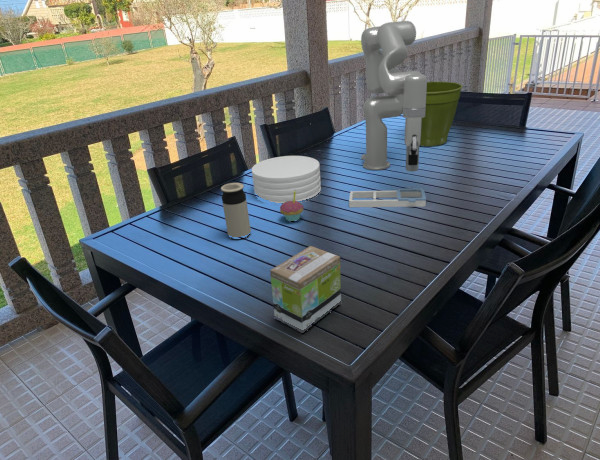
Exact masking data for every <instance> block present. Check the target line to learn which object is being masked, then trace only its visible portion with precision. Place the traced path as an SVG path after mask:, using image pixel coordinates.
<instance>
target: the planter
mask: <svg viewBox="0 0 600 460" xmlns="http://www.w3.org/2000/svg"><path fill="white" fill-rule="evenodd" d="M411 146H412V144H411ZM405 149H406V150H405V171H407V172H410V173H411V172H412V173H413V172H417V171H419V165H420V164H419V161H420V146H418V153H417V154H418V163H417V165H408V155H409V146H408V147H406V146H405ZM411 149H412V148H411Z"/></svg>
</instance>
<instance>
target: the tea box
mask: <svg viewBox="0 0 600 460" xmlns="http://www.w3.org/2000/svg"><path fill="white" fill-rule="evenodd" d="M269 271H270V273H269V274H270V284H271V294H272V305H273V314H274V315H273V317H274V316H276V317H278V318H280V319H282V320H283V321H285V322H287V323H289V324H291V325H293V326H295V327H297V328H299V329H301V330H304V329H306V328H307V327H308V326H309V325H311V324H312V323H313V322H315V321H316V320H317V319H318V318H319V317H321V316H322V315H323V314H325V313H326V312H327V311H329V310H330V309H331V308H332V307H333V306H335V305H336V304H337V303H339V302H340V301H341V302H342V293H341V291H342V284H341V279H342V278H341V275H342V274H341V256H339V255H337V254H333V253H331V252H328V251H326V250H323V249H320V248H318V247H314V246H312V245H310V246H308V247H307V248H305V249H303V250H302V251H300V252H298V253H296V254H294V255H293V256H291V257H290V258H288V259H287V260H284V261H283V262H281V263H280V264H278V265H276V266H275V267H273V268H271V269H270V270H269Z"/></svg>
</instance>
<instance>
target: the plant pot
mask: <svg viewBox="0 0 600 460" xmlns="http://www.w3.org/2000/svg"><path fill="white" fill-rule="evenodd" d="M462 89H463V85H462V84H461V83H459V82H451V81H427V89H426V109H425V117H423V118H422V121H421V139H420V145H419V147H436V146H437V145H438V146H442V145H443V144H446V143H447V142H448V136H449V133H450V130H451V128H452V125H453V122H454V118H455V116H456V112H457V108H458V104H459V100H460V96H461V91H462ZM438 146H437V147H438Z"/></svg>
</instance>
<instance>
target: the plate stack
mask: <svg viewBox="0 0 600 460" xmlns="http://www.w3.org/2000/svg"><path fill="white" fill-rule="evenodd" d="M320 166H321V165H320V162H319V161H318V160H317V159H315V158H313V157H309V156H305V155H304V156H303V155H284V156H277V157H271V158H267V159H264V160H261V161H260V162H257V163H255V164H254V165H253V166H252V167H251V174H252V184H253V191H254V194H255V193H256V194H257V195H258V196H259V197H261V198H263V199H265V200H269V201H270V202H275V203H285V202H287V201H293V197H294V191H296V195H295V201H302V200H306V199H309V198H312V197H314V196H316V195H317V194H318V193H319V192H320V191H322V187H321V170H320ZM320 193H321V192H320ZM320 193H319V194H320ZM317 196H318V195H317ZM317 196H316V197H317Z"/></svg>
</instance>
